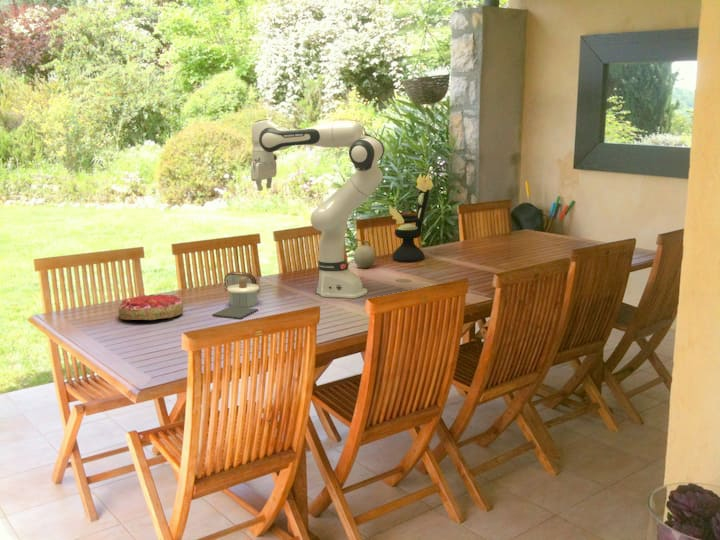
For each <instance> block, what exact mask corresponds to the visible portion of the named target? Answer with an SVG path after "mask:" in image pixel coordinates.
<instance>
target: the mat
mask: <svg viewBox="0 0 720 540" xmlns="http://www.w3.org/2000/svg"><path fill="white" fill-rule="evenodd" d="M256 311H257V312H258V311H259V309H258V308H251V307H234V306H231V305H230V306H228V307H225V308H224V309H221V310H219V311H216V312H214V313H212V317H217V318H223V317H224V318H225V319H232V318H233V319H232V320H242V319H244V318H243V317H245V318H247V317H249V316H251V315H252V313H253V314H255V313H257V312H256ZM254 312H255V313H254ZM250 314H251V315H250ZM248 315H249V316H248ZM246 316H247V317H246Z"/></svg>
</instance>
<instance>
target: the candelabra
mask: <svg viewBox="0 0 720 540" xmlns="http://www.w3.org/2000/svg"><path fill="white" fill-rule="evenodd" d="M416 184H417V185H416V186H415V188H416V189H417V190H419V195H418V198H417V203H418V204H417V211H416V215H414V214H400V212H398V210H397V208H395V207H392V205H390V204H388V206H389V207H388V208H389V209H388V210H389V214H390V215H392V217H391V219H392V220H395V221H396V223H395V224H396V225H400V226H399V227H397V228H396V229H395V230H394V235H395V236H396V238H398V239H402V243H401V245H400V246H398V247H397V248H396V249H395V250H394V252H393V253H392V256H391V258H392V259H393V260H394V261H396V262H402V263H412V262H413V263H414V262H420V261H422V260H424V259H425V255H424V252H423V251H422V250H421V248H419V247H418V246H417V245H416V244H415V241H414V240H415V239H418V238H420V237H421V236H422V234H423V233H422V230H423V229H422V227H423V222H424V219H425V218H424V217H425V215H426V214H425V213H426V210H427V206H428V203H429V202H428V201H429V198H430V197H429V196H430V190H433V189H432V188H434V184H433V180H432V177H431V176H430V172H428V173H427V175H425V174H423V175H422V174H421V173H419V174H418V177H417V179H416ZM414 223H415V225H414Z"/></svg>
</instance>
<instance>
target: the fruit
mask: <svg viewBox="0 0 720 540" xmlns="http://www.w3.org/2000/svg"><path fill="white" fill-rule="evenodd" d="M351 240H352V241H359V242H363V244H361V245H358V246H357V247H356V248H355V250H354V253H353V260H354V263H355V264H356V266H358V268H361V269H368V268H370V267H372V266H373V265H374V263H375V260H376V253H375V251H374V248H373V247H371V243H370V242H369V241H367V240H365V239H358V238H357V239H354V238H352V239H351ZM366 243H367V244H368V245H367V244H366Z"/></svg>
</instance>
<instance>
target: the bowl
mask: <svg viewBox="0 0 720 540" xmlns="http://www.w3.org/2000/svg"><path fill="white" fill-rule="evenodd" d="M229 303H230V306H234V307H243V308H251V307H254V306H257V305H258V291H256V292H253V293H246V294H234V293H229ZM256 304H257V305H256ZM250 306H251V307H250Z"/></svg>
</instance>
